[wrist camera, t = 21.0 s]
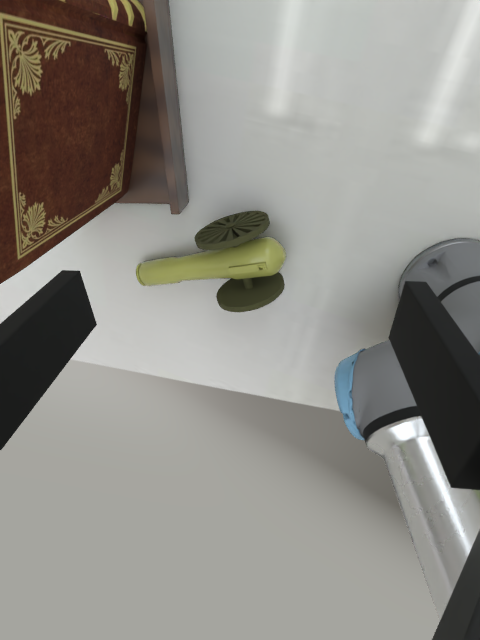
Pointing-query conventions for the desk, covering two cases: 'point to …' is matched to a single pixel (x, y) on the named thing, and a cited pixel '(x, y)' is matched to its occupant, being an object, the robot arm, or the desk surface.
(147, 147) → the book rack
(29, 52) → the decorative book
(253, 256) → the cannon
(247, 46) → the desk surface
